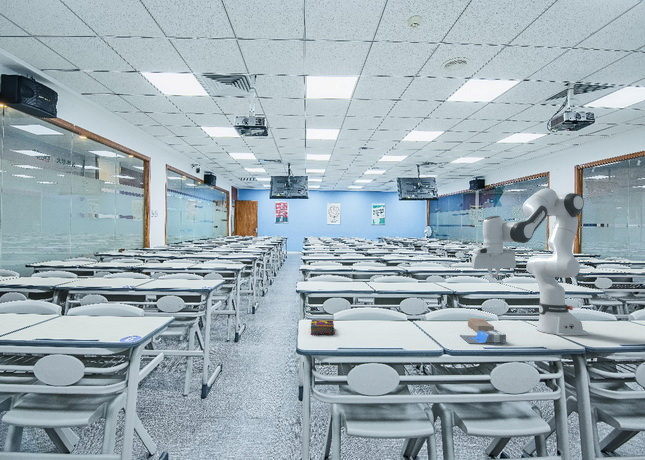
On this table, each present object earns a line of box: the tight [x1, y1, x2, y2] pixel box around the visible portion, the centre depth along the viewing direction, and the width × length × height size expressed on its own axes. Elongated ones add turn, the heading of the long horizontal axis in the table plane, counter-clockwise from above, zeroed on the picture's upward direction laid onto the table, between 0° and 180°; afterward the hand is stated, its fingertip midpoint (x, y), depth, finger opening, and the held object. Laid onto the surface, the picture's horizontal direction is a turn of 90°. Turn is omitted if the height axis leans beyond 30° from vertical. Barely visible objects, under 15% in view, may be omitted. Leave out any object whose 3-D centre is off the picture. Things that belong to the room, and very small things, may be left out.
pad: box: [459, 334, 504, 345], centre depth 172 cm, size 15×13×1 cm
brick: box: [467, 317, 495, 333], centre depth 192 cm, size 17×8×5 cm, turn 176°
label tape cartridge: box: [472, 329, 507, 343], centre depth 170 cm, size 9×4×12 cm
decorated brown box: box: [310, 318, 335, 336], centre depth 186 cm, size 11×16×5 cm
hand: (494, 277), depth 179 cm, fingers closed
